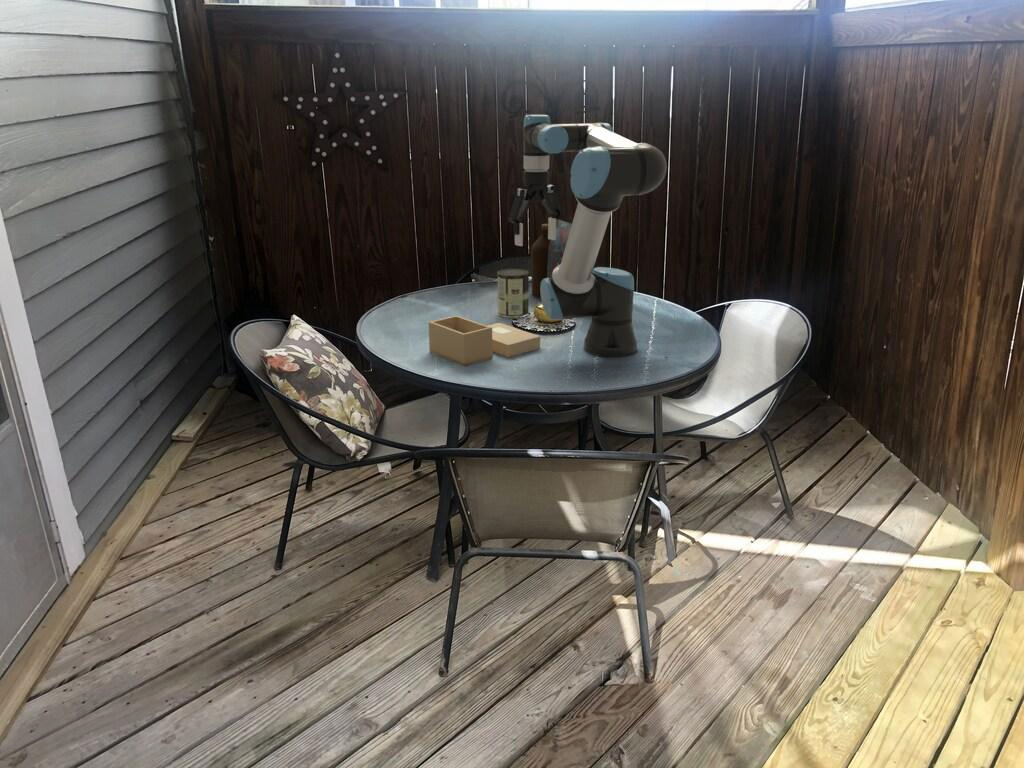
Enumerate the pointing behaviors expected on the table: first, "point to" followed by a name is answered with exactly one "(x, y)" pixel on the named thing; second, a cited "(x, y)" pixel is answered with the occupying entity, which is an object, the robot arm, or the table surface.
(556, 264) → the decorative box
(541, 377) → the table surface
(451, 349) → the kraft box
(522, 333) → the lid
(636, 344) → the robot arm
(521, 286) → the coffee can
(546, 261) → the olive oil
